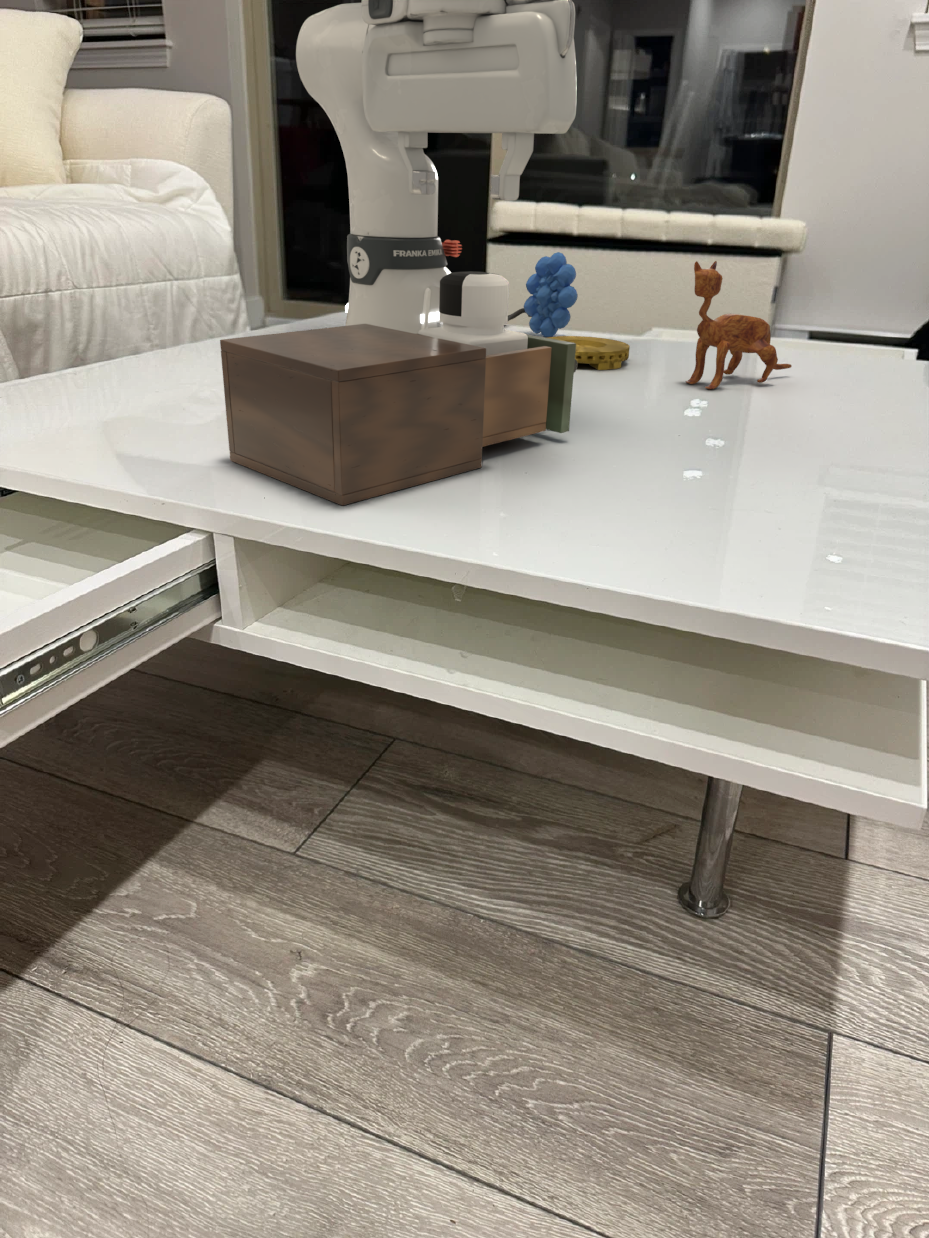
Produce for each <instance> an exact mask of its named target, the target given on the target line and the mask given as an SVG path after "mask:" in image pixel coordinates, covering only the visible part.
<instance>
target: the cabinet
mask: <svg viewBox="0 0 929 1238" xmlns="http://www.w3.org/2000/svg"><path fill="white" fill-rule="evenodd" d="M219 344H220V345H219V346H220V357H221V370H222V381H223V382H222V383H223V392H224V404H225V414H226V415H225V416H226V428H227V439H228V440H227V441H228V450H229V460H230V462H233V463H235V464H238V465H240V466H243V467H245V468H248V469H250V470H253V471H255V472H258V473H260V474H263V475H265V476H267V477H270V478H273V479H275V480H277V481H280V482H283V483H285V484H287V485H290V486H293V487H295V488H297V489H300V490H302V491H305V492H307V493H310V494H313V495H314V496H317V497H320V498H322V499H324V500H327V501H329V502H332V503H335V504H337V505H339V506H346V505H350V504H354V503H357V502H360V501H361V502H362V501H365V500H368V499H371V498H376V497H379V496H382V495H386V494H390V493H393V492H397V491H400V490H401V491H402V490H405V489H408V488H412V487H415V486H418V485H423V484H427V483H430V482H433V481H437V480H441V479H444V478H449V477H452V476H456V475H460V474H462V473H466V472H470V471H474V470H477V469H480V468H482V465H483V464H482V461H483V447H482V444H483V420H484V395H485V371H486V348H484V347H479V346H474V345H469V344H464V343H459V342H454V341H449V340H444V339H439V338H434V337H429V336H424V335H419V334H414V333H409V332H404V331H399V330H394V329H389V328H384V327H379V326H374V325H369V324H358V325H349V326H345V325H341V326H333V327H332V326H331V327H322V328H314V329H304V330H295V331H287V332H286V331H285V332H277V333H269V334H258V335H250V336H243V337H233V338H222V339H220V340H219Z"/></svg>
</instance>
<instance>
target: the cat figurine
mask: <svg viewBox="0 0 929 1238" xmlns="http://www.w3.org/2000/svg"><path fill="white" fill-rule="evenodd" d="M717 266H718V262H717V260H715V261H714V262H713V263H712V264H711V266H710V267H709V268H702V267H701V265H700V263H699V261H697V260H696V261H695V262H694V264H693V273H694V295H695V296H697V297H700V298H703V299H704V300H703V303H702V304H701V306H700V308H699V311H698V315H699V317H700V318H701V319H702V320H701V321H700V323H699V324H698V325H697V328H696V333H697V336H698V337H699V338H698V339H697V341H696V348H695V365H694V369H693V372H692V375H691V376H690V377H689V378H688V379H687V380H685V383H686V384H689V385H695V384H697V383H699V382H700V381H701V379H703V375H704V372H705V365H706V355H707V352H708V350H709V348H710V347H713V348H716V357H715V372H714V376H713V378H712V380H711V382H710V384H708V385H707V386H705V387H704V388H705V389H707V390H715V389H717V388H718V387H719V386H720V385H721V383H722V381H723V378H724V375H728V376H729V375H733V373H734V372H735V371H736V369H737V368H738V366H739V365H740V364H741V362H742V360H743V353H744V354H756V355H757V356H758V357H759V359H760V360H761V362H763V363H764V365H765V368H764V370H763V372H762V374H761V377H760V378H757V380H756V383H757V384H759V383H760V384H761V383H765V382H766V381H767V379H768V377H769V376H770V374H771V373H772V372H773V370H775V371H780V370H786V369H791V368H792V364H790V363H778V361H779V358H778V354H777V349H776V347H775V346H774V345H773V344H771V338H772V334H771V333H772V332H771V326H770V324H769V323H768V322H767V321H766V320H764V319H763V318H761V317H757V316H751V315H745V314H739V313H732V312H731V313H724V314H722V315H720V316H718V317H716V318H714V319H712V318H711V317H709V315H708V314H707V313H708V312H709V309H710V306H711V304H712V301H713V300H712V299H713V298H714V297H715V296H717V295H719V294H720V293H721V289H722V283H723V275H722V274H721V273H719V271H718V270H716V269H717ZM728 352H729V353H730V354H731V358H730V360H729V362H728V365H727V368H726V369H725V366H726V365H725V364H726V358H727V355H728Z"/></svg>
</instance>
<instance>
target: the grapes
mask: <svg viewBox="0 0 929 1238" xmlns="http://www.w3.org/2000/svg"><path fill="white" fill-rule="evenodd" d="M534 270H535V273H533V274H531V275H530V276H529V277H528V279H527V281H526V282H525V288H526V290H527V292H528V293H529V294H530V296H529V297H528V298H527V299H526V300H525V301H524V302H523V303H524V304H523V308H524V310H525V312H526V313H527V314H526V313H525V314H526V315H527V316H528V315H529V316H532V317H530V319H529V321H528V326H529V328H530V330H531V331H532V333H534V334H541V335H542V337H544V338H546V337H555V335H556V334H558V331H559V330H560V329H565V328H566V326H568V324H569V323H570V321H571V319H572V318H571V316H572V315H571V313H570V310H569V308H572V307H573V306H574V305H575V304H576V303H577V300H578V298H579V297H578V291H577V289H576V288H575V287H574V286H572V284H573V282H574V281H575V279H576V276H577V272H576V268H575V266H573V265H572V264H570V263H568V262H567V258H566V256H565V255H564V253H563V252H560V251H557V252H553V254H552V255H551V256H547V255H545V256H542V257H540V259H538V260H537V262H536V264H535V266H534Z"/></svg>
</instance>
